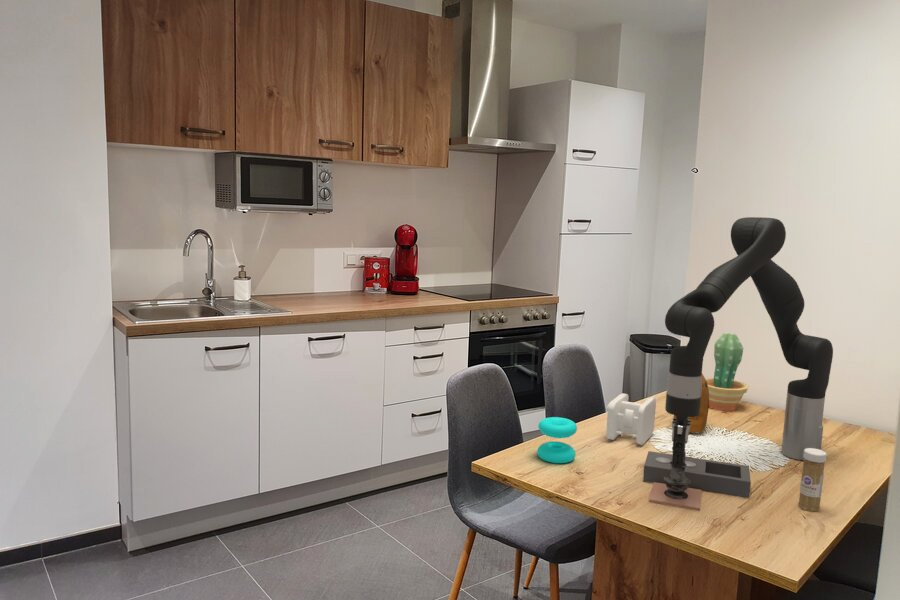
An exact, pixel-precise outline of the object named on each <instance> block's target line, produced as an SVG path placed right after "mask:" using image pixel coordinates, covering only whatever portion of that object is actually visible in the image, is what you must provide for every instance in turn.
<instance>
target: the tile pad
mask: <svg viewBox="0 0 900 600" xmlns="http://www.w3.org/2000/svg"><path fill="white" fill-rule="evenodd" d="M666 490H668V488H667V486H666V484H663V483H656V482H653V483H652V487H651V490H650V495H649V498H648V502H649V503H652V502H654V503H653V504H659V505H666V506H672V507H675V508H676V507H678V508H683V509H688V510H689V509H690V510H695V511H699V512H700V511H701V500H702V491H701V490H700V489H693V488H687V490H685V491H684V492H685V493H687V494H688V497H687V498H686V499H674V498H670V497H668V496H666V495H665V494H664V492H665V491H666Z"/></svg>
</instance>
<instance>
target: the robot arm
mask: <svg viewBox="0 0 900 600" xmlns="http://www.w3.org/2000/svg"><path fill="white" fill-rule="evenodd" d="M786 232H787V231H786V227H785V224H784V223H783V222H782V221H781V220H780V219H777V218H774V217H760V216H759V217H757V216H756V217H749V216H747V217H742V218H737V220H735V221H734V222H733V224H732V226H731V229H730V240H731V244H732V247H733V249H734V251H735V253H736V255H737V256H735V257H733V258H732V259H730V260H727V261H725V262H724V263H722V264H721V265H719V266H716V268H713V270H711V271H710V272H709V273H708V274H707V275H706V276H705V278H704V279H703V280H702V281H701V282H700V283H699V284H698V285H697V287H696V288H695V289H694V290H692V291H690V292H687V294H686V295H684V296H682V297H681V298H680V299H678V300H677V301H675V302H674V303H673V304H672V305H671V306H670V307H669V309H668V310H667V312H666V315H665V318H664V325H665V328H666V329H667V331H668V332H669V333H671V334H673V335H677V336H682V337H686V338H689V341H688V342H687V344H686V345H677V346H675V347H673V348H672V349H671V352H670V355H669V356H670V359H669V370H668V377H667V381H666V383H667V384H666V396H665V397H666V398H665V406H664V408H665V411H666V412H667V413H668V414H670V415H673V416H674V415H675V416H676V418H674V417H673V418H672V421H671V429H672V432H671V441H672V447H671V450H672V454H673V462H672V466H673V467H675V468H682V467H683V455H684V451H685V452H686V444H687V443H688V441H689V433H690V432H689V431H690V425H691V420H688V417H695V416H698V415H699V414H700V404H701V392H702V374H703V362H704V357H705V353H706V350H707V348H708V345H709V342H710V340H711V336H712V335H713V332H714V328H715V318H714V315H713V313H717V312H719V311H720V310H721V309H722V307H724V305H725V304H726V303H727V302H728V300H729V299H731V297H732V296H733V294H734V293H735V292H736V291H737V290H738V288H739V287H740V286H741V285H743V283H744V282H745V281H746V280H748V279H749V278H751V279H752V282H753V284H754V286H755V288H756V289H757V292H758V294H759V297H760V299H761V302H762V304H763V307H764V308H765V310H766V312H767V314H768V315H769V317H770V318H769V319H771V322H772V325H773V327H774V329H775V332H776V335H777V338H778V340H779V341H778V342H779V344H780V347H781V348H780V349H781V351H782V355H783V357H784V360H785V361H786V362H787V364H788V365H790V367H791V366H792V367H794V368H797V369H800V370H801V369H802V370H805V371H808V374H807V377H805V378H803V379H794V380H791V381H789V382H788V384H787V393H786V401H785V411H784V423H783V431H782V441H781V442H782V443H781V454H782V455H783V456H785V457H787V458H790V459H793V460H799V461H804V459H803V458H804V457H803V453H804V450H805V449H806V448H815V449H819V450H822V442H823V433H824V426H823V418H824V411H825V410H824V409H825V400H826V392H827V389H828V386H829V384H830V383H829V382H830V374H831V370H832V369H831V368H832V364H833V357H834V347H833V344H832V342H831V341H830V339H827V338H824V337H819V336H814V335H813V336H812V335H809V334H808V335H807V334H804V333H802V332H801V330H800V329H799V326H798V322H799V320H800V318H801V317H802V314H803V312H804V310H805V299H804V296H803V294H802V292H801V291H802V290H801V289H800V285H799V284H798V282H797V281H796V280H795V278H794V277H793V276H792V275H791V274H790V273H788V272H787V271H786V270H785V269H784V268H782V267H781V266H780V265H779V264H777V263H776V262H775V261H774V260H772V259H773V258H774V257H775V256H776V255H777V254H778V253H779V252H780V251H781V250H782V248H783V247H784V245H785V242H786V239H787V238H786V235H787V233H786ZM679 445H681V446H679Z"/></svg>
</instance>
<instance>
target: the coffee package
mask: <svg viewBox="0 0 900 600" xmlns="http://www.w3.org/2000/svg"><path fill="white" fill-rule="evenodd" d="M706 379H707V378H705V376H704V374H703V373H702V392H701V404H700V414H699V415H698V416H695V417H688V420H691V425H690V431H689V433H692V434H702V433H703V431H705V428H706V426H707V422H708V414H709V408H710V407H709V389H708V384H707V381H706ZM673 418H676V416H675V415H673Z"/></svg>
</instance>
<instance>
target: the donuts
mask: <svg viewBox="0 0 900 600" xmlns="http://www.w3.org/2000/svg"><path fill="white" fill-rule="evenodd" d="M538 430H539V431H540V432H541V434H543V435H544V436H546V437H549V438H554V439H566V438H567V439H568V438H571V437H572V436H574V435H575V434H576V432H577V431H578V425H577V424H576V422H574V421H573V420H571V419H568V418H565V417H561V416H560V417H559V416H551V417H545V418H543V419H541V420H540V421H539V422H538ZM536 453H537V455H538V457H539V459H541V460H542V461H545V462H547V463H551V464H566V463H570V462H572V461H573V460H575V457H576V451H575V449H574V447H572V445H570V444H568V443H566V442H562V441H557V440H556V441H546V442H543V443H542V444H540V445H539V446H538V447H537V451H536Z"/></svg>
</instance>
